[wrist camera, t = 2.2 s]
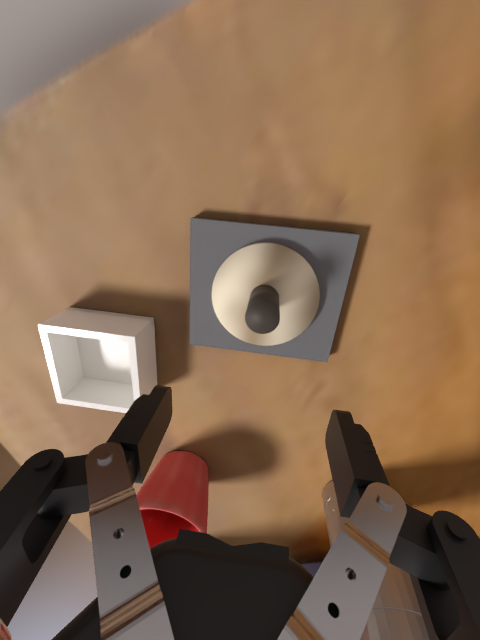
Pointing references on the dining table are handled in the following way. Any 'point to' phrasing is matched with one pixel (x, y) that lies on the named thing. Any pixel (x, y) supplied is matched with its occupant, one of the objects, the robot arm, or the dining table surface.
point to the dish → (100, 357)
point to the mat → (314, 245)
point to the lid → (265, 294)
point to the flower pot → (174, 497)
